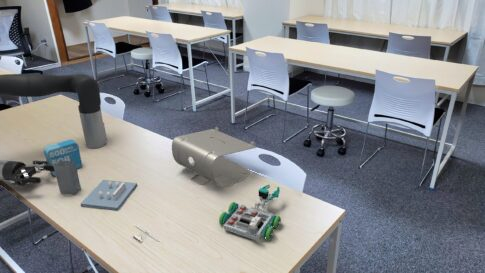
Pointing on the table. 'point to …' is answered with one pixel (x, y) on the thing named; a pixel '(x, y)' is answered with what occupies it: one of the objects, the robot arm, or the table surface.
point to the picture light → (146, 233)
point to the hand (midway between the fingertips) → (47, 174)
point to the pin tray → (109, 195)
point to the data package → (63, 153)
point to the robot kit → (252, 217)
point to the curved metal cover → (211, 156)
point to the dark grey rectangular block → (67, 177)
